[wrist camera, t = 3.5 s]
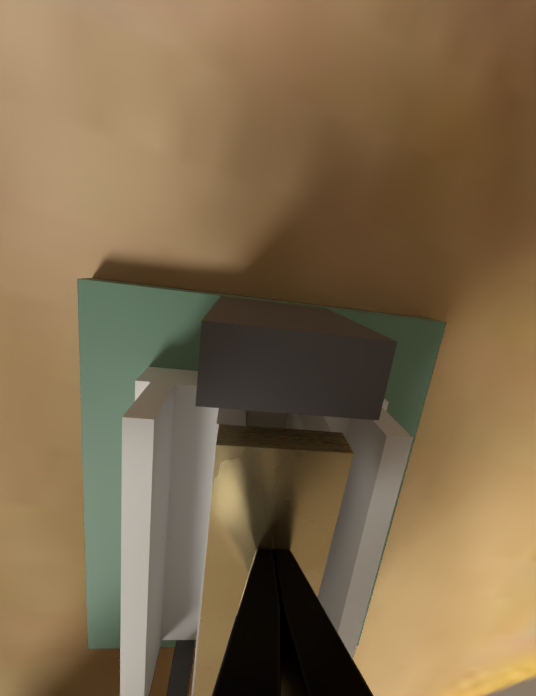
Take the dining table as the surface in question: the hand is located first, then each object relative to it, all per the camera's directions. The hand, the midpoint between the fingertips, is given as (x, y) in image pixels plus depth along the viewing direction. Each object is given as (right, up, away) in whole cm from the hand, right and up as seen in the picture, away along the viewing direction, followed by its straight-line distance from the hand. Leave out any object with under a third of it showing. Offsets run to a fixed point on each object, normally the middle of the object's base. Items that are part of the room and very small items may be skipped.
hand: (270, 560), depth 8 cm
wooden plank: (-1, -3, +2) cm, 4 cm away
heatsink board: (-1, -1, +7) cm, 7 cm away
